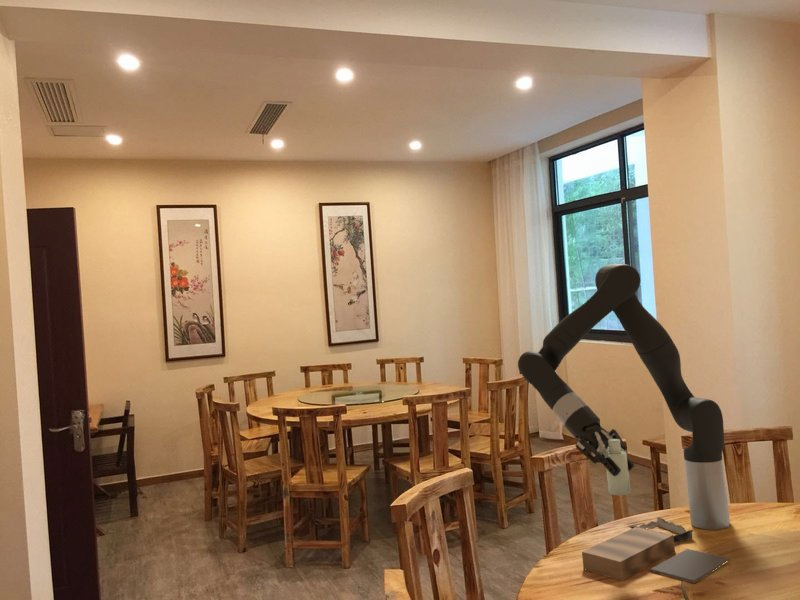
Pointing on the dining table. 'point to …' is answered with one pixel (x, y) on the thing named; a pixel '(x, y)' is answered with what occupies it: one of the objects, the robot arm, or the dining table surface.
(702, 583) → the dining table surface
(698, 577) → the charcoal mat
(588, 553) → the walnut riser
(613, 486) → the celadon bottle
